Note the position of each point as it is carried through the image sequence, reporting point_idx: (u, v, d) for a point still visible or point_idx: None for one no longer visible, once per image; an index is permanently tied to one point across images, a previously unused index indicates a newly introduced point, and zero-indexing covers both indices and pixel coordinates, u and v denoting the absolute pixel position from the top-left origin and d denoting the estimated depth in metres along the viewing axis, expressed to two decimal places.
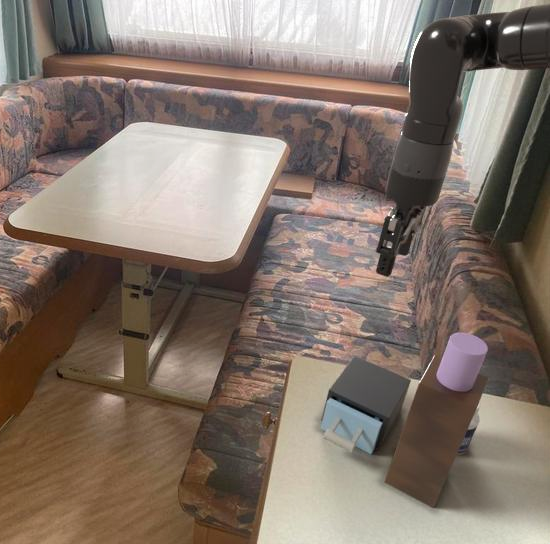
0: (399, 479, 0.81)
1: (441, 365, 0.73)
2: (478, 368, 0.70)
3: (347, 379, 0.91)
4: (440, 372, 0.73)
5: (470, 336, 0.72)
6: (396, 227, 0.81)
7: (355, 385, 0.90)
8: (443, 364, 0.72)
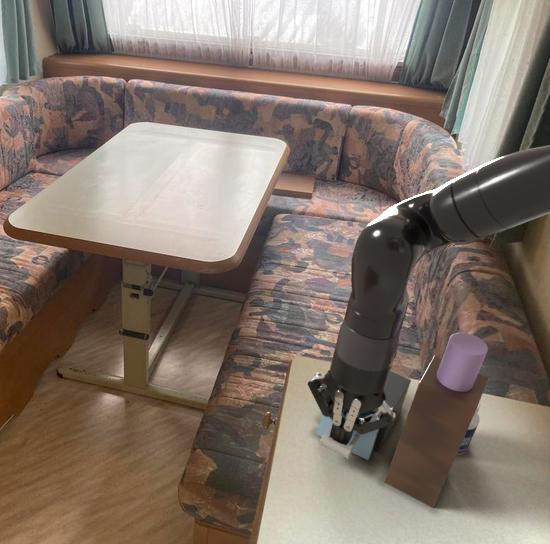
0: (399, 479, 0.81)
1: (441, 365, 0.73)
2: (478, 368, 0.70)
3: None
4: (440, 372, 0.73)
5: (470, 336, 0.72)
6: None
7: None
8: (443, 364, 0.72)
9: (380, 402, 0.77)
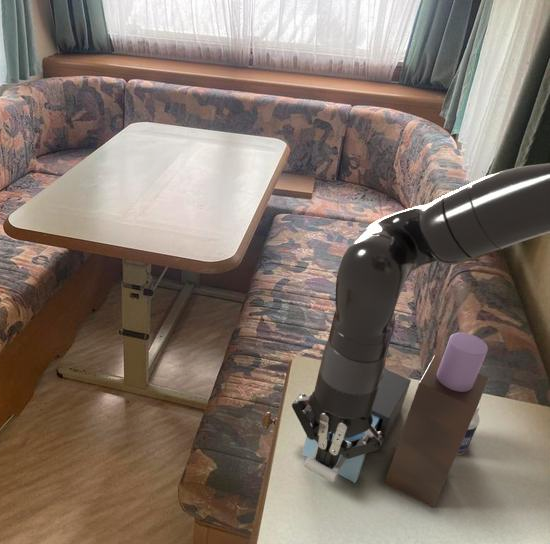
0: (399, 479, 0.81)
1: (441, 365, 0.73)
2: (478, 368, 0.70)
3: None
4: (440, 372, 0.73)
5: (470, 336, 0.72)
6: None
7: None
8: (443, 364, 0.72)
9: (367, 426, 0.73)
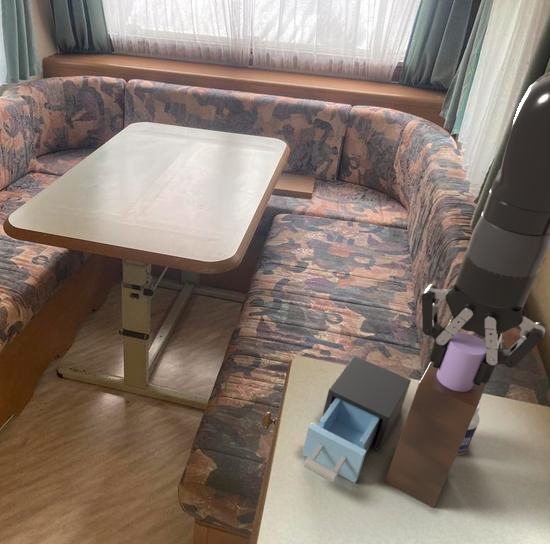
0: (399, 479, 0.81)
1: (441, 365, 0.73)
2: (478, 368, 0.70)
3: (347, 379, 0.91)
4: (440, 372, 0.73)
5: (470, 336, 0.72)
6: None
7: (355, 385, 0.90)
8: (443, 364, 0.72)
9: (519, 316, 0.65)
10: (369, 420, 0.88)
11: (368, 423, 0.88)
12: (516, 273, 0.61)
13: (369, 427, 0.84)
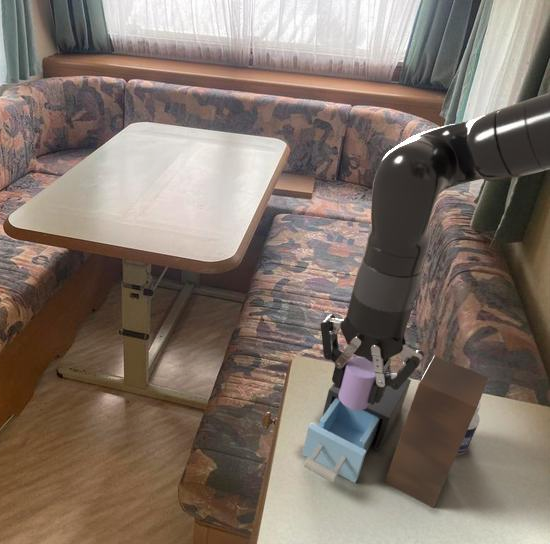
0: (399, 479, 0.81)
1: (341, 386, 0.81)
2: (370, 389, 0.79)
3: None
4: (340, 392, 0.82)
5: (366, 360, 0.80)
6: None
7: None
8: (342, 385, 0.81)
9: (399, 345, 0.73)
10: (369, 420, 0.88)
11: (368, 423, 0.88)
12: (390, 309, 0.69)
13: (369, 427, 0.84)
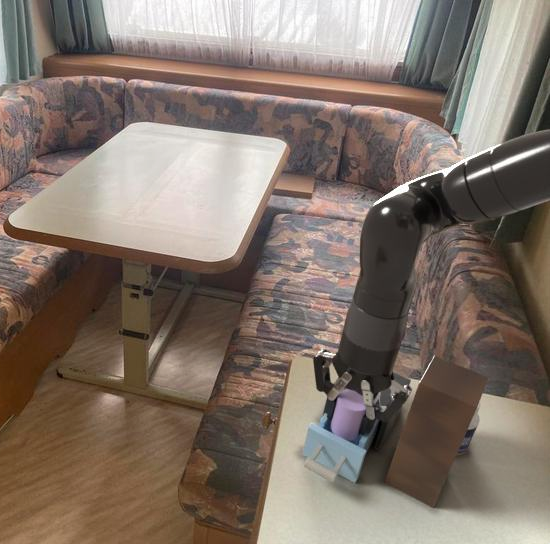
0: (399, 479, 0.81)
1: (333, 417, 0.85)
2: (361, 421, 0.82)
3: None
4: (332, 423, 0.85)
5: (356, 392, 0.84)
6: None
7: None
8: (334, 416, 0.84)
9: (388, 381, 0.77)
10: None
11: None
12: (378, 348, 0.73)
13: None
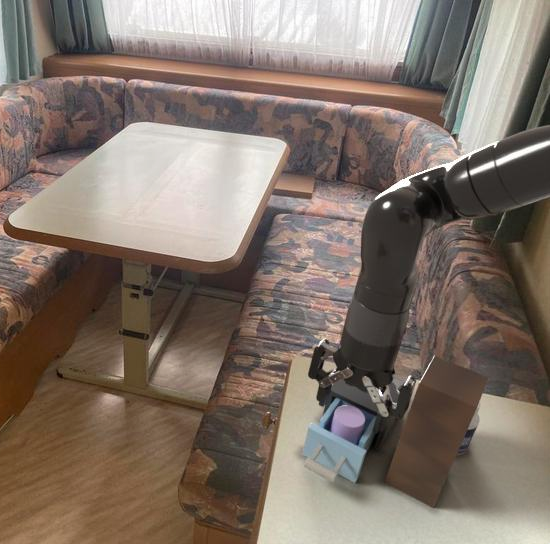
0: (399, 479, 0.81)
1: None
2: (357, 437, 0.84)
3: None
4: None
5: (353, 409, 0.85)
6: None
7: None
8: (331, 432, 0.86)
9: (388, 375, 0.76)
10: (369, 420, 0.88)
11: (368, 423, 0.88)
12: (379, 343, 0.72)
13: (369, 427, 0.84)
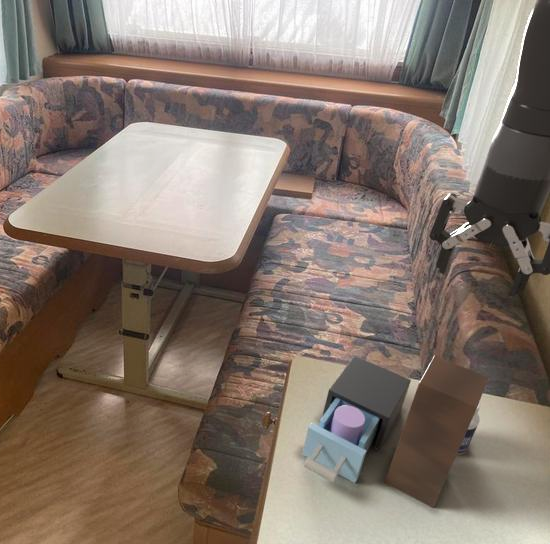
0: (399, 479, 0.81)
1: None
2: (357, 437, 0.84)
3: (347, 379, 0.91)
4: None
5: (353, 409, 0.85)
6: (442, 204, 0.73)
7: (355, 385, 0.90)
8: (331, 432, 0.86)
9: (534, 221, 0.67)
10: (369, 420, 0.88)
11: (368, 423, 0.88)
12: (534, 176, 0.63)
13: (369, 427, 0.84)
